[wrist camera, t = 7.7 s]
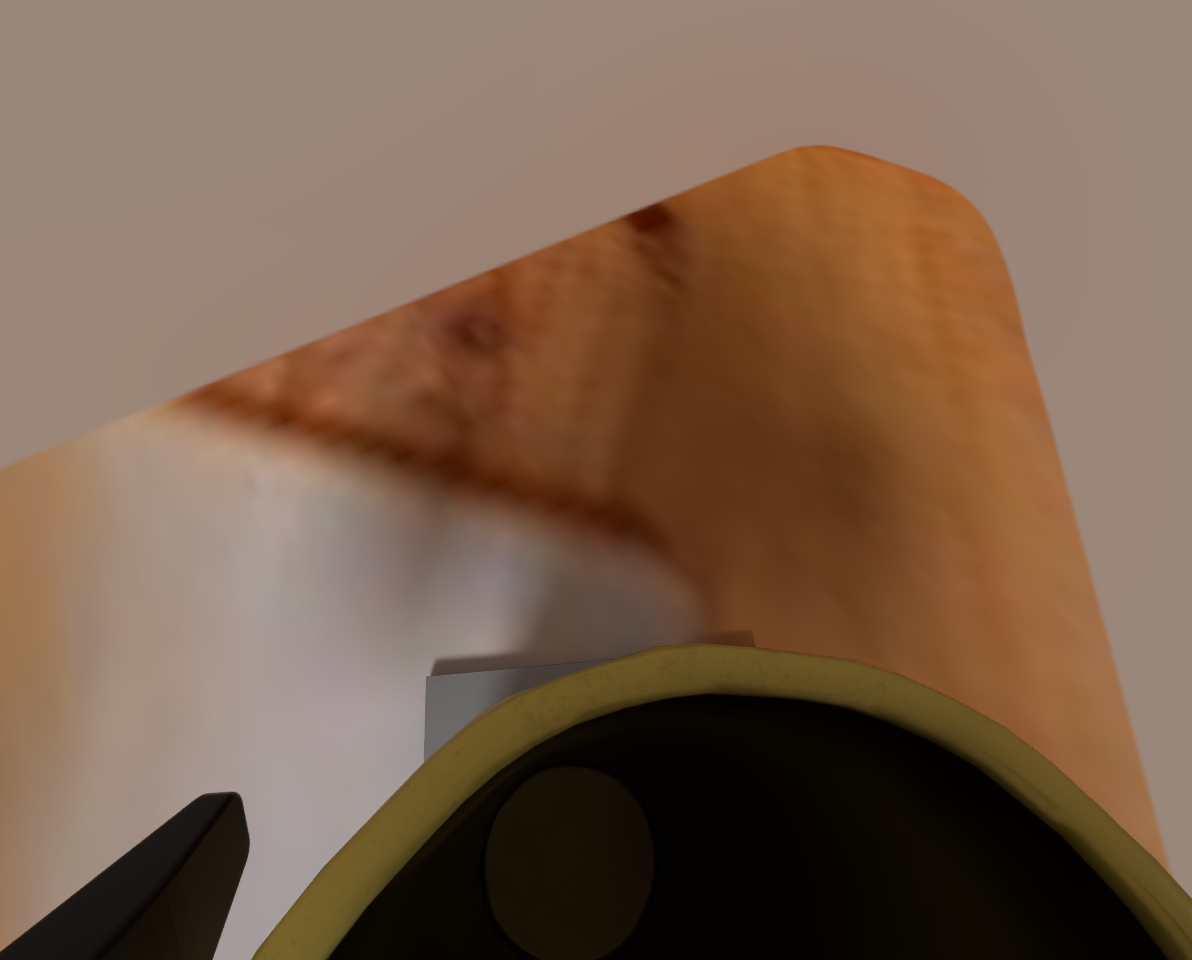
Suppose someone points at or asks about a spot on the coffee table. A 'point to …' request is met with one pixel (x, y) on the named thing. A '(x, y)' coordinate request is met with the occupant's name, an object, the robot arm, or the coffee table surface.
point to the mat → (479, 696)
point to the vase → (737, 831)
